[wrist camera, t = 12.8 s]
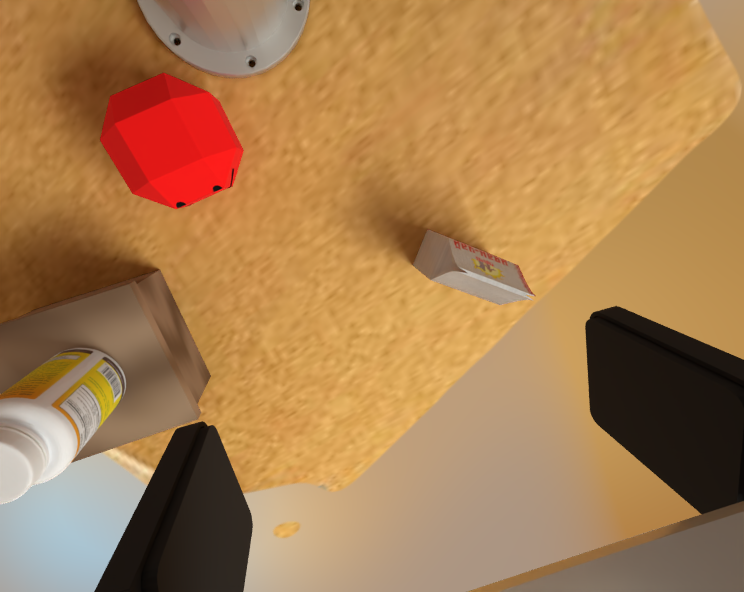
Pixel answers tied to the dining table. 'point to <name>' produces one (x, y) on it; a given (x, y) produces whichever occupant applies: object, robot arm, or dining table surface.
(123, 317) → the walnut box
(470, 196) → the dining table surface
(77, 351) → the supplement bottle
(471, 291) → the white carton
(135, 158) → the ball
